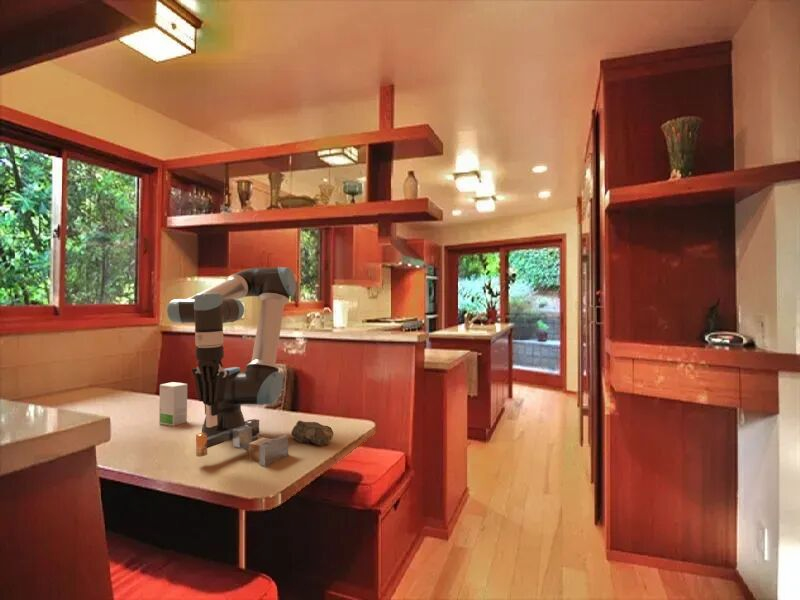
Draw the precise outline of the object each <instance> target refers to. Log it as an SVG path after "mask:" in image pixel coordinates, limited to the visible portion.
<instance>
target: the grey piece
mask: <svg viewBox="0 0 800 600" xmlns="http://www.w3.org/2000/svg"><path fill="white" fill-rule="evenodd" d="M261 438H265V437H263V436H259V433H258V434H256V435H252V442H253V441H256V440H258V439H261ZM267 438H268V437H267ZM268 439H270V438H268ZM234 448H237V449H241V450H247V451H249V444H247V445H245V446H242V447H236V446H234ZM287 456H289V435H285V434H281V435H279V436H278V437H274V438H272V440H270V441H268V442H265V443H263V444H261V445H260V462H259V466H262V467H267V466H269V465H271V464H273V463H275V462H276V461H279V460H281V459H283V458H285V457H287Z"/></svg>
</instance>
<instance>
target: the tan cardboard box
mask: <svg viewBox="0 0 800 600" xmlns="http://www.w3.org/2000/svg"><path fill="white" fill-rule="evenodd" d="M272 439H273V438H272ZM272 439H271V438H269V439H268V437H264V438H261V439H258V440H256V441H253V442H251V443H249V450H248V460H250V461H255V462H258V463H260V445H261V444H263V443H265V442H268V441H270V440H272Z"/></svg>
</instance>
